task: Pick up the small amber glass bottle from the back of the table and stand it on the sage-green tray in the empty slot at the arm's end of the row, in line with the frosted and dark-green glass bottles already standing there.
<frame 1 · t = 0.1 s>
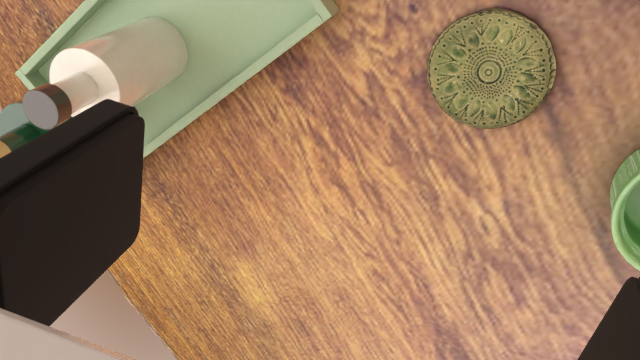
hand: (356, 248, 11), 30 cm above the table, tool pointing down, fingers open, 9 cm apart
tray: (170, 40, 44), on the table
frosted bottle: (158, 50, 44), point 1 cm above the table, touching tray
medallion: (489, 69, 39), on the table
green glass bottle: (107, 94, 47), point 1 cm above the table, touching tray
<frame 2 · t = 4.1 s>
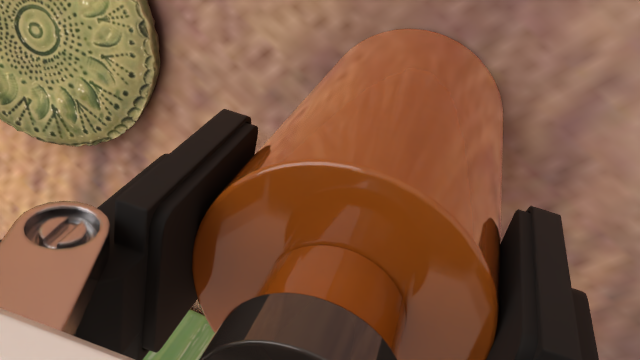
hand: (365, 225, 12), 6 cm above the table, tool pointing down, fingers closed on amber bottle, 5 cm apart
medallion: (52, 26, 19), on the table
amber bottle: (408, 118, 17), on the table, touching gripper
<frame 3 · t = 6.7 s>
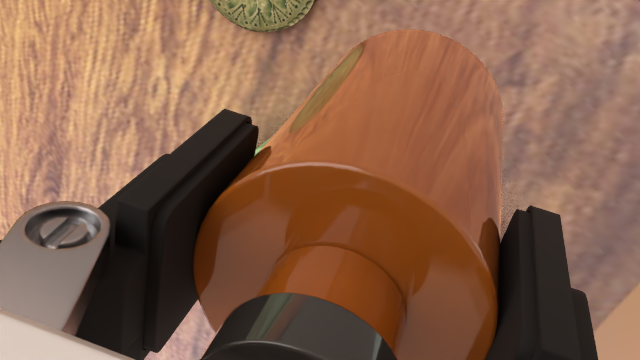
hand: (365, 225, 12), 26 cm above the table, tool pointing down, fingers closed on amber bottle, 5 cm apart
amber bottle: (408, 119, 17), point 20 cm above the table, touching gripper
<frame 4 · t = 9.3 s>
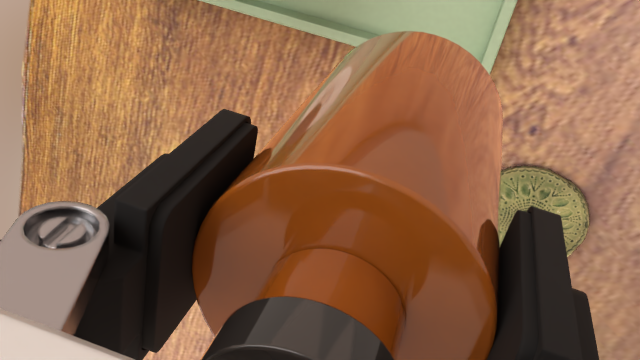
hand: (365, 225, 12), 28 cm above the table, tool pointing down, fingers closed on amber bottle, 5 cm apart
medallion: (527, 215, 41), on the table
amber bottle: (408, 120, 17), point 22 cm above the table, touching gripper
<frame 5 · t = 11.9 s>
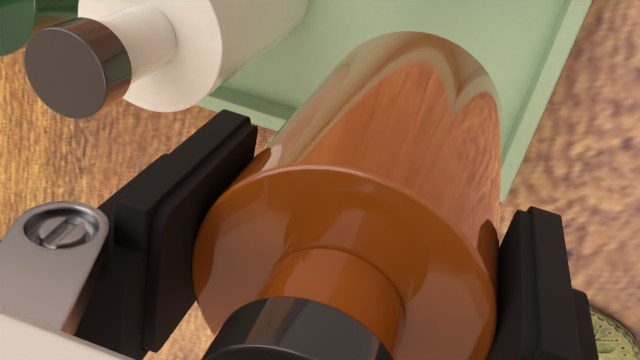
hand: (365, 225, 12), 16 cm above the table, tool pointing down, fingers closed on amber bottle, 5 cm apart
medallion: (556, 357, 31), on the table
amber bottle: (408, 120, 17), point 10 cm above the table, touching gripper
when the fingers open (7 cm above the table, at t = 14.4 s): amber bottle stays where it is, resting on tray.
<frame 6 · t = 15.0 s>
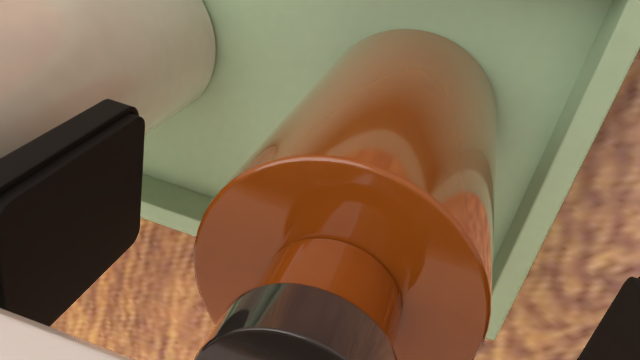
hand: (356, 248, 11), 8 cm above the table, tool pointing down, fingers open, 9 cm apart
tray: (182, 40, 19), on the table
frosted bottle: (143, 36, 18), point 1 cm above the table, touching gripper, tray
amber bottle: (405, 117, 17), point 1 cm above the table, touching tray
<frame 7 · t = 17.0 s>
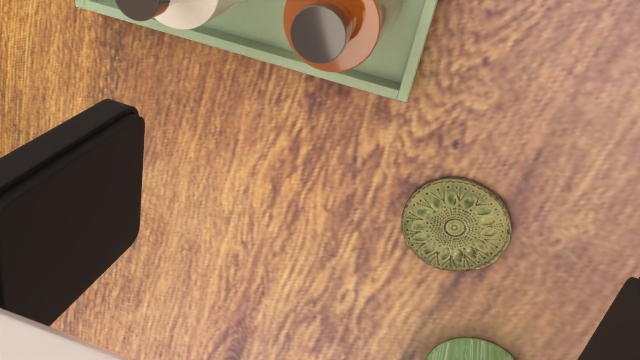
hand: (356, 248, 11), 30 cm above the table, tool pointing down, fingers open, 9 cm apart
medallion: (455, 223, 44), on the table
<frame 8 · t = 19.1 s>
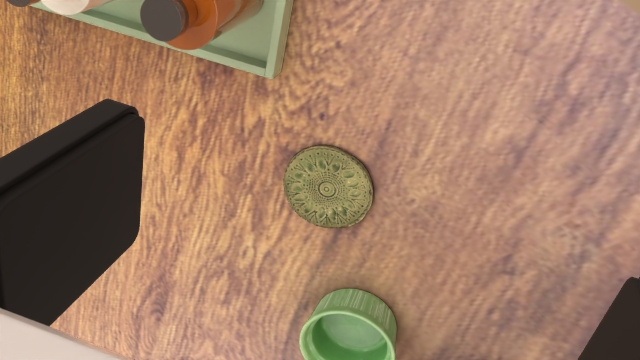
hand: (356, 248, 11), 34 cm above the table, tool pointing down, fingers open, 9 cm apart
ramekin: (357, 318, 57), on the table
medallion: (329, 185, 51), on the table
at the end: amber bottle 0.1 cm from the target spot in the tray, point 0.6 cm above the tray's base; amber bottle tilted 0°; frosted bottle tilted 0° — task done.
